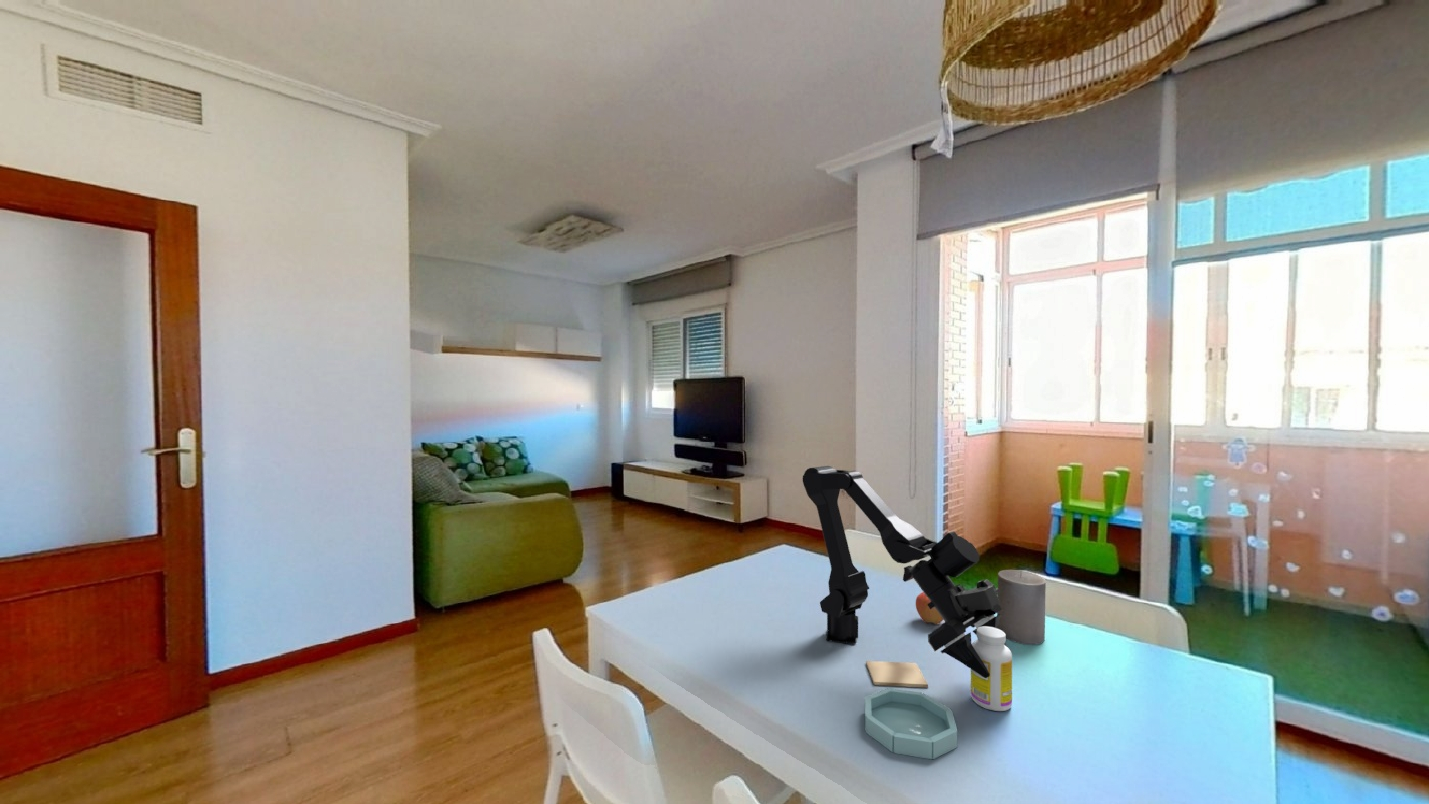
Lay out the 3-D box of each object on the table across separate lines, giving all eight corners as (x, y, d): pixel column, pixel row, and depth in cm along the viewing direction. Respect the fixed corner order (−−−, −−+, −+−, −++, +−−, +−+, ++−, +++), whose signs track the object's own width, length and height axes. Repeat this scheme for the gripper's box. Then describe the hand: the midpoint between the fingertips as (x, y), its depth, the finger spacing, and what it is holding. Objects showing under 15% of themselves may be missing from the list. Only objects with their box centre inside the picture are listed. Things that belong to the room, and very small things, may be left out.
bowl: (865, 747, 83) (865, 731, 83) (864, 698, 97) (864, 684, 97) (962, 764, 79) (962, 747, 79) (947, 710, 93) (947, 696, 93)
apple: (949, 630, 124) (949, 597, 124) (916, 626, 127) (916, 593, 127) (946, 618, 131) (946, 586, 131) (914, 614, 134) (915, 582, 134)
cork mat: (874, 684, 101) (874, 681, 101) (866, 663, 109) (866, 660, 109) (928, 687, 100) (928, 684, 100) (916, 666, 108) (916, 663, 108)
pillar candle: (989, 625, 127) (989, 563, 127) (1030, 625, 127) (1031, 564, 126) (1010, 645, 117) (1011, 578, 117) (1055, 645, 117) (1056, 578, 117)
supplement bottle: (1007, 695, 98) (1008, 626, 97) (1015, 716, 91) (1016, 642, 91) (968, 689, 100) (968, 621, 100) (972, 708, 94) (973, 636, 93)
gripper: (944, 579, 92) (1011, 666, 84) (991, 557, 104) (1054, 632, 96) (903, 609, 99) (962, 694, 90) (952, 586, 110) (1007, 659, 102)
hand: (999, 668), depth 94 cm, fingers open, 9 cm apart
